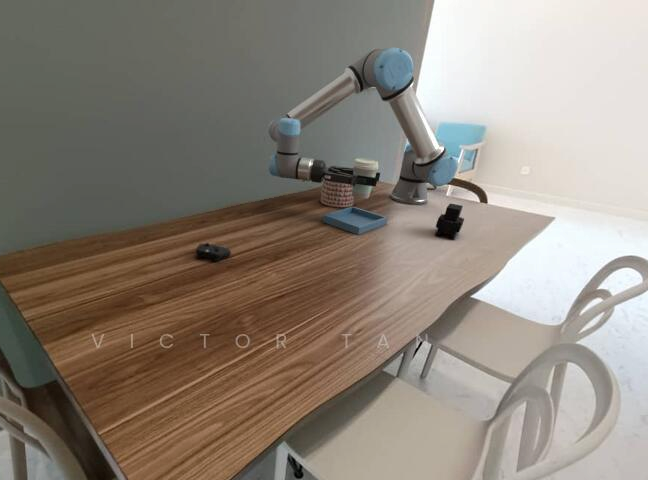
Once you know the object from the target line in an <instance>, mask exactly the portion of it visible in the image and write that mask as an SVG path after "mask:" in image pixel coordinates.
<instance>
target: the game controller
mask: <svg viewBox="0 0 648 480" xmlns="http://www.w3.org/2000/svg"><path fill="white" fill-rule="evenodd" d="M195 253H196V258H197V259H201V258H202V257H206V258H211V259H213V261H214V262H219V261H220V260H221V259H222V258H227V257H229V256H230V255H231V254H232V252H231V250H230V249H229V248H227V247H224V246H220V245H214V244H210V243H209V242H206V243H199V245H198V246H196V249H195Z"/></svg>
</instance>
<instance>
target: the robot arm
mask: <svg viewBox="0 0 648 480" xmlns="http://www.w3.org/2000/svg"><path fill="white" fill-rule="evenodd" d="M414 67H415V66H414V61H413V58H412V56H411V55H410V54H409V52H408V51H406V50H405V49H401V48H398V47H389V48H375V49H372V50H370V51H369V52H367V53H365V54H363V56H361V57H360V58H358V59H357V60H355V61H354V62H353V63H351V64H350V65H348V66H347V67H346V68H345V69H344V73H342V74H341V75H340V76H339V77H336V79H334V80H333V81H331V82H330V83H328V84H327V85H325V86H324V87H323V88H321V89H320V90H319V91H317V92H316V93H314V94H313V95H311V96H310V97H308V98H307V99H306V100H304V101H303V102H301V103H300V104H298V105H297V106H296V107H294V108H293V109H291V110H290V111H288V112H287V113H286V114H284V115H283V116H281V117H280V118H275V119H273V120H271V121H270V123H269V124H268V127H267V131H268V135H269V137H270V139H271V140H272V141H274V142H276V143H277V144H276V153H273V154H272V155H271V156H270V158H269V162H268V170H269V171H268V172H269V174H270V175H271V176H273V177H278V178H282V179H283V178H284V179H292V180H298V181H299V180H300V181H302V182H303V183H306V182H310V181H311V182H312V183H318V184H322V183H323V179H324V180H325V181H333V182H338V183H344V184H349V185H353V186H355V185H356V184H360V185H367V186H372V187H374V188H375V187H377V183H378V182H379V181H380V176H381V172H376V175H375V177H367V176H360V175H358V176H354V175H353V167H345V166H337V165H330V167H329V166H327V165H326V161H325V160H322V159H314V158H309V157H300V156H299V148H300V147H299V146H300V138H301V137H300V136H301V132H302V131H301V130H303V129H304V128H306V127H307V126H308V125H310V124H312V123H313V122H314V121H316V120H317V119H319V118H320V117H322V116H323V115H325V114H326V113H328V112H330V111H331V110H332V109H333V108H335V107H337V106H338V105H339V104H341V103H342V102H344V101H345V100H347V99H349V98H350V97H351V96H353V95H355V94H356V95H359V94H361V93H362V92H363V91H365V90H368V89H371V88H375V89H376V91H377V93H378V95H379V97H380V99H381V101H382V102H386V103H389V106H390V108H391V110H392V113H394V116H395V117H396V119H397V122H398V123H399V126H400V127H401V129H402V132H403V133H404V135H405V138H406V139H407V141H408V143H409V144H407V145H406V146H405V149H404V152H403V157H402V162H401V167H400V172H399V177H398V180H397V182H396V184H395V186H394V187H393V189H392V191H391V194H390V199H392V200H394V201H395V202H399V203H402V204H407V205H423V204H426V203H427V201H428V191H435V190H436V189H437V187H443V186H445V185H447V184H448V183H450V182H451V181H452V180H453V179H454V177H455V176H456V173H457V171H458V166H459V164H458V160H457V159H456V158H455V157H454V156H453V155H450V154H449V152H448V150H447V148H446V146H445V144H444V143H443V142H441V141H438V140H437V137H436V135H435V134H434V131H433V128H432V127H431V125H430V122H429V120H428V118H427V115H426V114H425V112H424V109H423V107H422V105H421V103H420V101H419V99H418V97H417V94H416V92H415V90H414V87H413V86H414V82H415V78H414V74H413V71H414ZM427 183H428V184H429V185H431V186H432V187H428V186H427V185H428V184H427Z"/></svg>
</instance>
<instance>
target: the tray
mask: <svg viewBox="0 0 648 480" xmlns="http://www.w3.org/2000/svg"><path fill="white" fill-rule="evenodd" d="M322 216H323V217H322V223H324V224H328V225H330V226H333V227H336V228H338V229H341V230H344V231H347V232H349V233H352V234H355V235H357V236H359V235H361V234H364V233H367V232H370V231H373V230H376V229H378V228H380V227H383V226H386V225H387V222H388V216H385V215H381V214H378V213H375V212H372V211H370V210H369V211H368V210H365V209H362V208H360V207H357V206H356V207H355V206H354V205H353V206H351V207H348V208H341V209H339V210H335V211H333V212H329V213H326V214H325V213H324V214H323V215H322Z"/></svg>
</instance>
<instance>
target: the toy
mask: <svg viewBox="0 0 648 480" xmlns="http://www.w3.org/2000/svg"><path fill="white" fill-rule="evenodd" d="M462 210H463V205H460V204H457V203H449V204H448V205H447V207H446V209H445V212H444V213H441V214H440V215H439V217H438V218H437V221H436V224H435V228H436V233H435V236H436V237H439V236H440V235H441V233H443V234H447V235H451V237H450V240H452V241H454V240H455V238H456V236H457V234H458V233H460V231H461V229H462V227H463V225H464V221H465V218H463V217H461V213H462Z"/></svg>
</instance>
